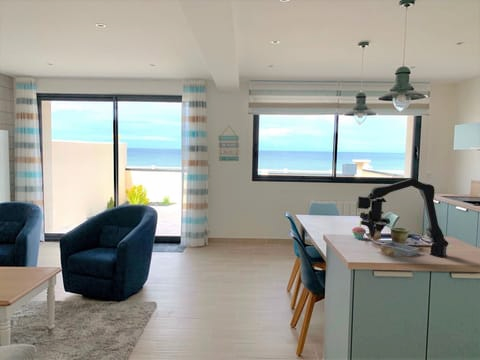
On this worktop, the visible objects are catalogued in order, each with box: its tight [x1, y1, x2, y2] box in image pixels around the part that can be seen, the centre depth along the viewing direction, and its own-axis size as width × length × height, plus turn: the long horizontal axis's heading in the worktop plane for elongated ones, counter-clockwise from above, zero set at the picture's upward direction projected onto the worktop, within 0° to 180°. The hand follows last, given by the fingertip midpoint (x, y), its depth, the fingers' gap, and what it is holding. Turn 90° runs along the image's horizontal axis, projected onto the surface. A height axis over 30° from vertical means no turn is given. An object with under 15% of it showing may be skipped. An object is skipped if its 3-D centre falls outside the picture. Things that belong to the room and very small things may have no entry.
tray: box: [380, 241, 420, 257], centre depth 188 cm, size 16×11×3 cm
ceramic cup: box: [390, 226, 410, 245], centre depth 202 cm, size 13×10×10 cm
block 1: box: [368, 230, 382, 241], centre depth 188 cm, size 4×4×4 cm
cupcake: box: [351, 220, 367, 240], centre depth 216 cm, size 9×8×12 cm
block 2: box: [380, 246, 395, 258], centre depth 180 cm, size 4×4×4 cm
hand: (374, 236), depth 188 cm, fingers closed on block 1, 4 cm apart
